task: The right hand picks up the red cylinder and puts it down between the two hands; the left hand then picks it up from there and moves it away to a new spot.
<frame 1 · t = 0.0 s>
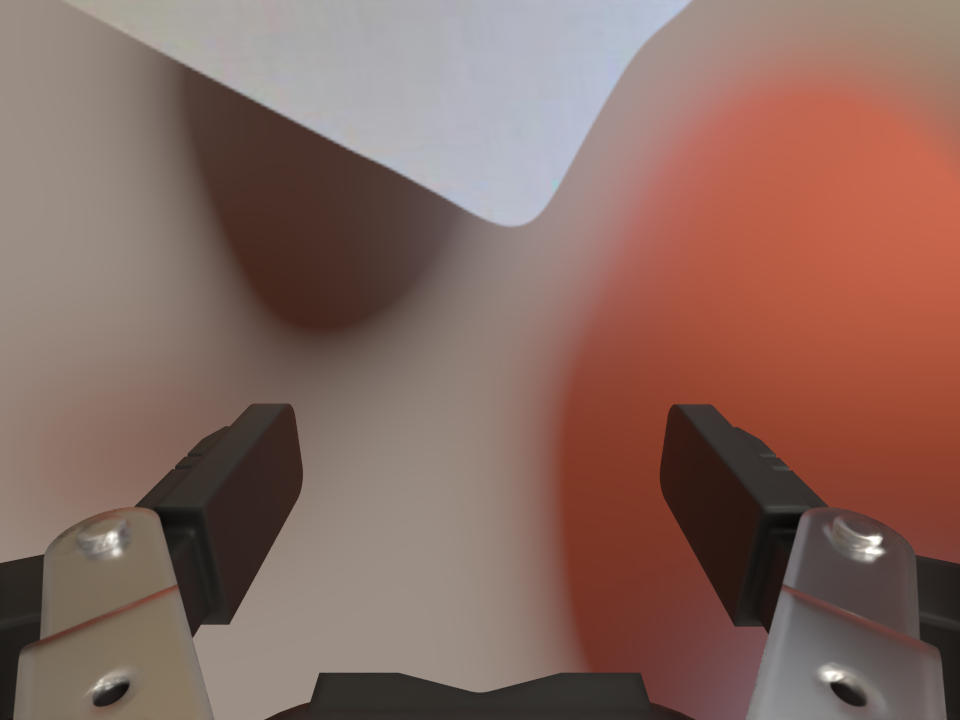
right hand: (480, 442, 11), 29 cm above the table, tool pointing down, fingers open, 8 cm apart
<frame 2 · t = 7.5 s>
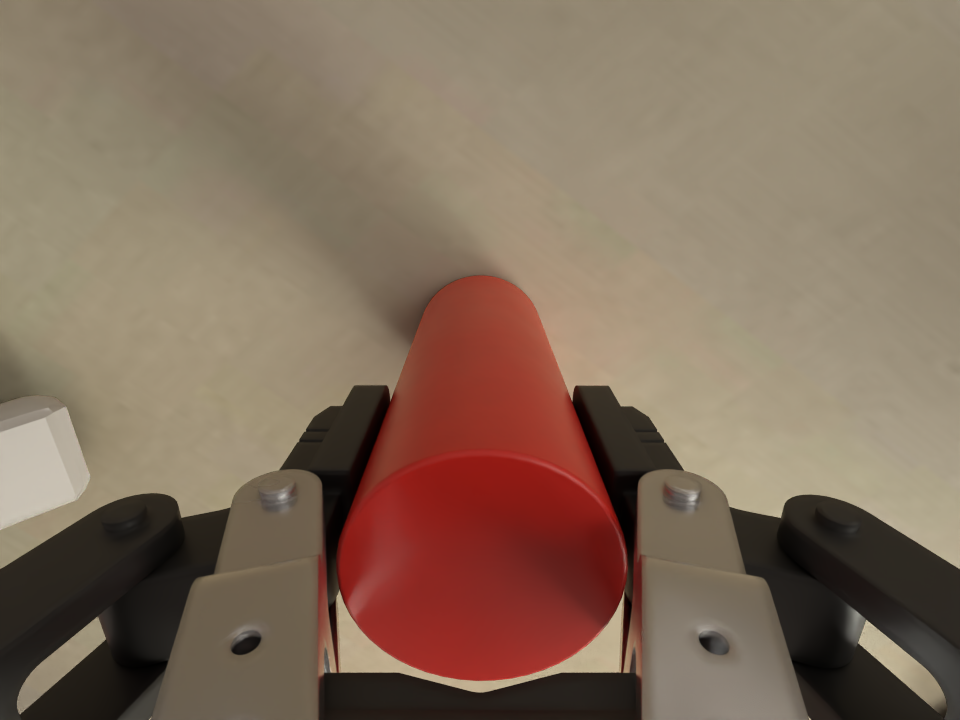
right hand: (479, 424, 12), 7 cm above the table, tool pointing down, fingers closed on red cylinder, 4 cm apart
red cylinder: (480, 335, 18), on the table, touching right hand
when the right hand's fingers open (8 cm above the table, at t = 14.8 s): red cylinder drops 2 cm, on the table.
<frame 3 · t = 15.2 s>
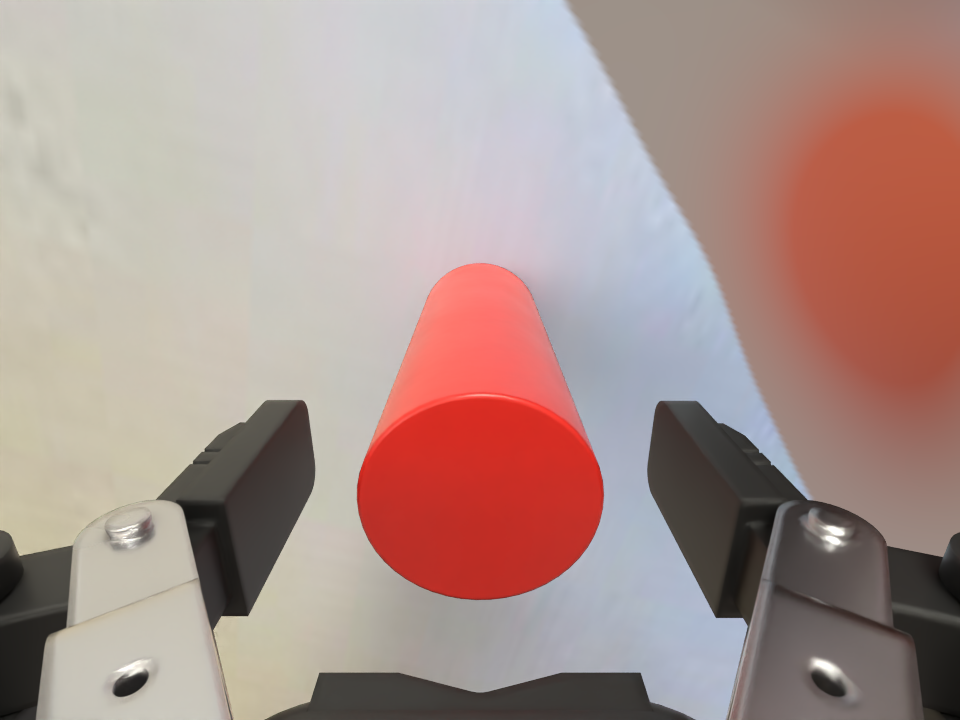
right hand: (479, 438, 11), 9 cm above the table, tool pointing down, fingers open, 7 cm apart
red cylinder: (480, 319, 19), on the table
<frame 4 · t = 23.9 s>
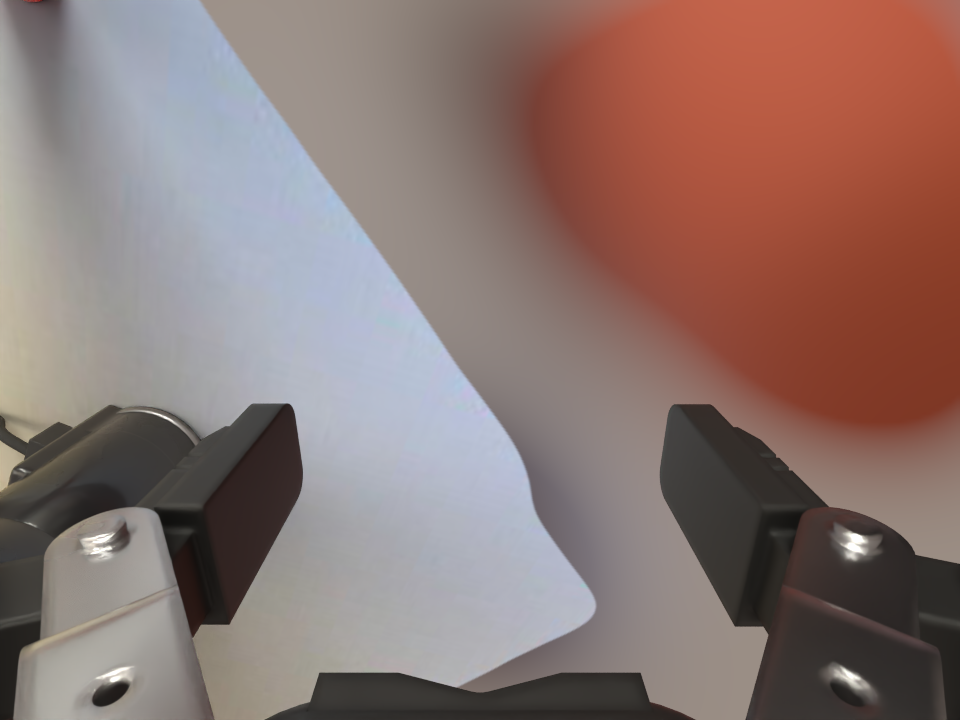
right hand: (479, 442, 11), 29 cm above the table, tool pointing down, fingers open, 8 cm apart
when the left hand's fingers open (5 cm above the table, at t = 33.4 s): red cylinder drops 2 cm, on the table.
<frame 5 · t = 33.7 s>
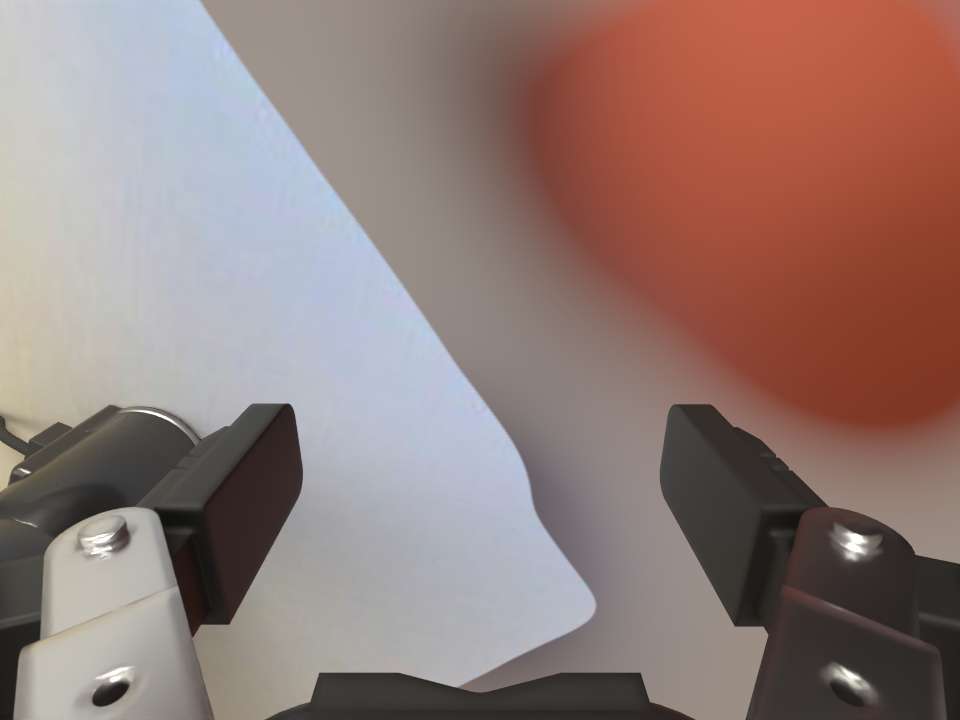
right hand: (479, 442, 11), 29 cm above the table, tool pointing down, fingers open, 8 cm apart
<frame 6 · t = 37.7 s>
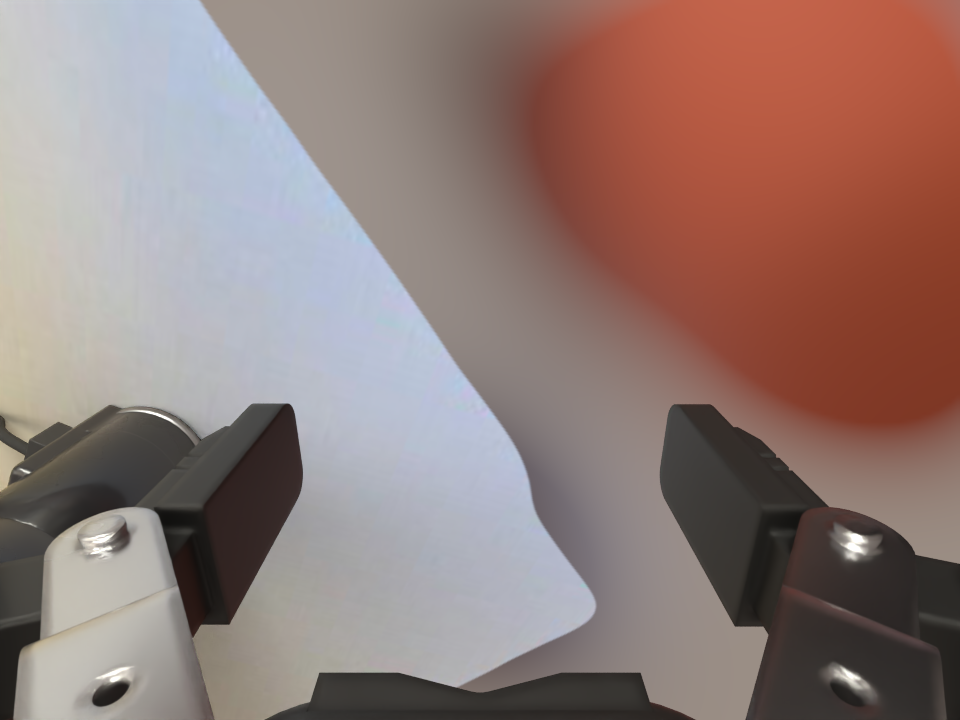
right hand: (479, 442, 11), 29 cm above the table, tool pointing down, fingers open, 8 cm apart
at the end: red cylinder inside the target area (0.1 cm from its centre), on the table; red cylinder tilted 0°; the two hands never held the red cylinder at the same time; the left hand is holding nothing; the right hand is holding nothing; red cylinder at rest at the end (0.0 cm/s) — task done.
